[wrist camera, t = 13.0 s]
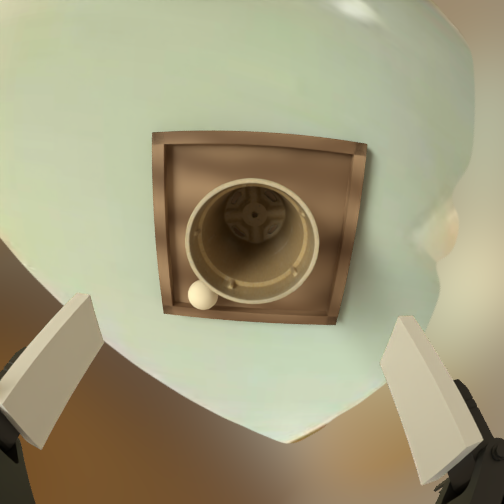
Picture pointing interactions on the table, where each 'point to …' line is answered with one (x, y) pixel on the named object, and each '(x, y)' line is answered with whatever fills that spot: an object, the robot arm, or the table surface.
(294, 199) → the flower pot
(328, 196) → the tray
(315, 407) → the table surface
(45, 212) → the table surface
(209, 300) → the cream white ball
